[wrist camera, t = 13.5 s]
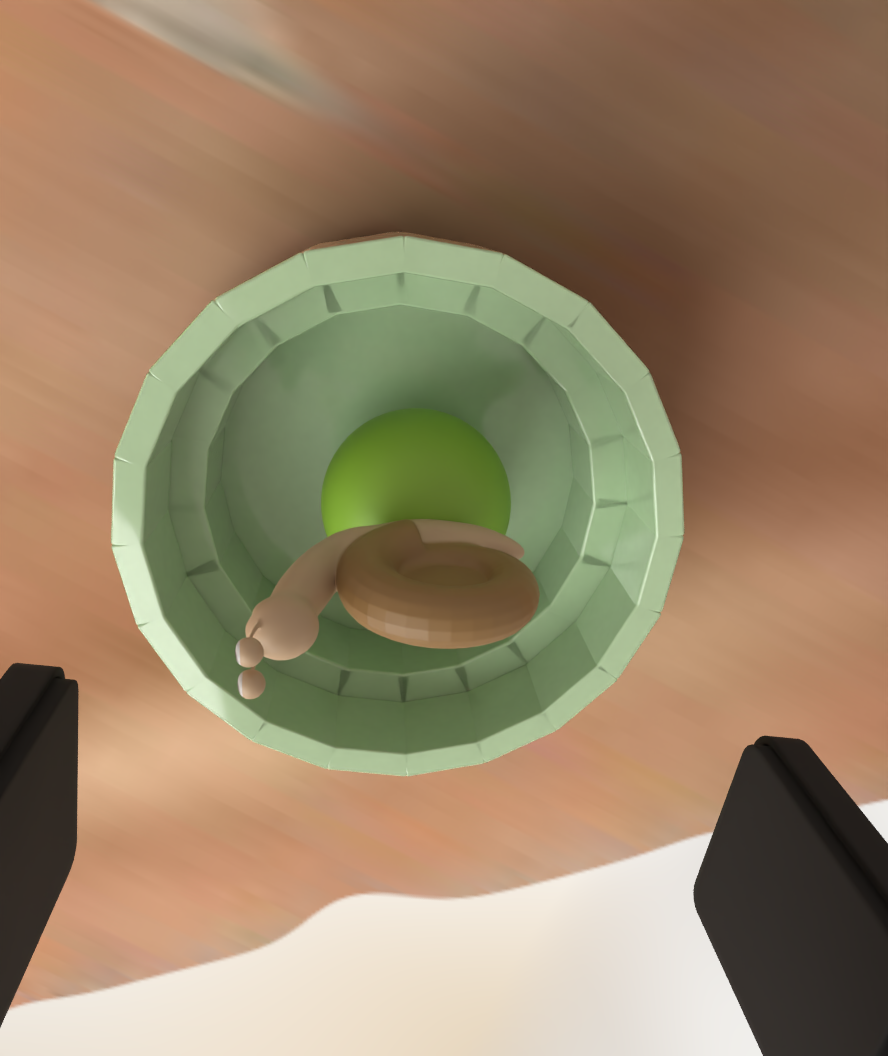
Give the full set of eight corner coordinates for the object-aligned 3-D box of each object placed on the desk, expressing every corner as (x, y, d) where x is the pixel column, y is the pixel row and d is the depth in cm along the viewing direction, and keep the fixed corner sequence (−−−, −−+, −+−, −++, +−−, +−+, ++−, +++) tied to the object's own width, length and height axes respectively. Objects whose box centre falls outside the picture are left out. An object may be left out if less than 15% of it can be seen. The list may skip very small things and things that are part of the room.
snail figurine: (291, 389, 25) (220, 534, 13) (501, 392, 25) (601, 533, 14) (298, 553, 26) (240, 800, 15) (492, 553, 27) (574, 791, 16)
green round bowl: (183, 191, 23) (120, 183, 17) (670, 279, 25) (755, 298, 19) (158, 642, 28) (103, 749, 22) (565, 687, 30) (609, 796, 24)
